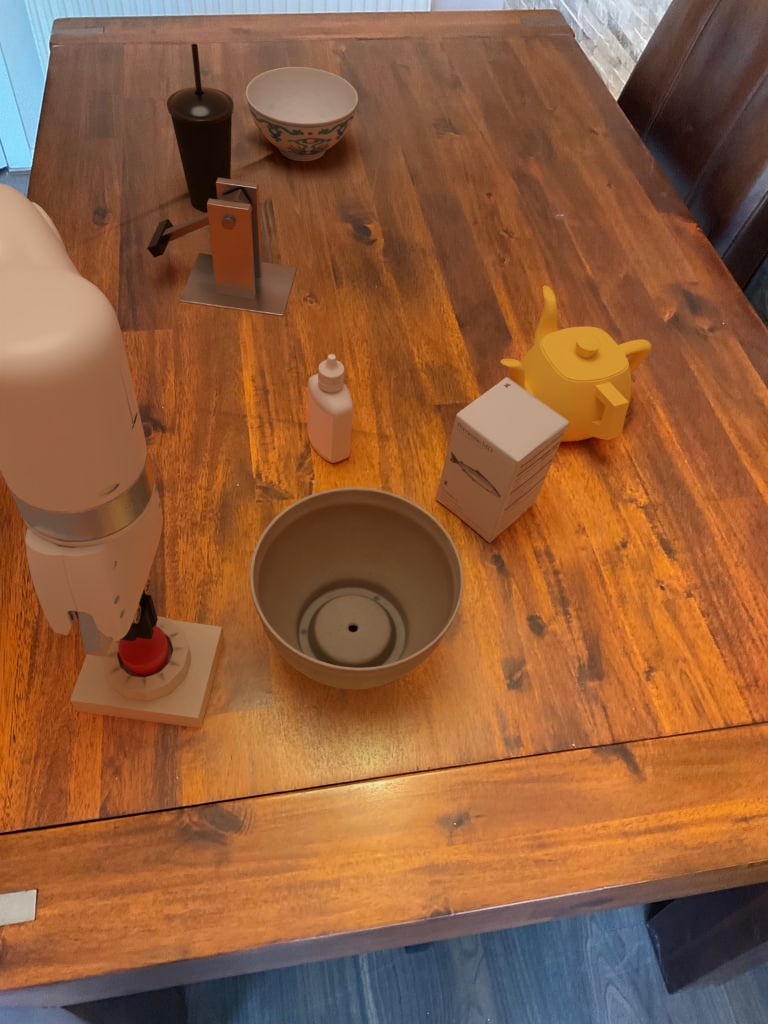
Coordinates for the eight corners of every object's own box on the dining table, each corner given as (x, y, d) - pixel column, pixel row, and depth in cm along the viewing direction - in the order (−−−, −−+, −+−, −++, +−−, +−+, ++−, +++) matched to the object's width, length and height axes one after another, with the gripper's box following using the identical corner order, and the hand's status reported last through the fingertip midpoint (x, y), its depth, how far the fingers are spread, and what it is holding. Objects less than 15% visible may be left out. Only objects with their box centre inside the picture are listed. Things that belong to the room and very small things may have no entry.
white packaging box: (432, 500, 79) (452, 411, 68) (482, 462, 82) (507, 372, 72) (488, 547, 76) (518, 462, 66) (537, 505, 79) (572, 419, 69)
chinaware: (344, 186, 109) (346, 131, 103) (236, 168, 110) (232, 112, 103) (363, 130, 118) (366, 76, 112) (263, 113, 118) (261, 59, 112)
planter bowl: (258, 559, 73) (252, 486, 64) (432, 557, 75) (450, 486, 66) (253, 730, 64) (246, 672, 55) (453, 723, 65) (477, 665, 57)
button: (116, 672, 62) (111, 662, 60) (130, 630, 64) (126, 620, 62) (162, 678, 62) (159, 668, 60) (174, 636, 64) (171, 626, 62)
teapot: (524, 350, 93) (545, 280, 85) (635, 392, 90) (668, 323, 82) (481, 428, 85) (500, 358, 77) (602, 475, 82) (634, 409, 74)
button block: (76, 711, 63) (64, 690, 60) (107, 622, 68) (98, 599, 65) (201, 728, 63) (195, 709, 60) (224, 638, 68) (220, 616, 65)
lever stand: (180, 308, 92) (164, 209, 82) (199, 260, 97) (187, 162, 87) (283, 323, 92) (281, 225, 82) (297, 274, 97) (296, 177, 87)
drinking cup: (171, 218, 102) (147, 53, 86) (194, 186, 106) (174, 24, 90) (228, 231, 101) (215, 67, 85) (249, 198, 106) (239, 37, 90)
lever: (157, 262, 89) (143, 244, 88) (169, 235, 92) (156, 218, 91) (246, 226, 85) (233, 207, 83) (255, 200, 87) (243, 181, 86)
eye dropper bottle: (306, 464, 80) (307, 378, 70) (307, 422, 83) (307, 334, 74) (350, 465, 80) (356, 379, 71) (349, 423, 84) (355, 336, 74)
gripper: (62, 373, 49) (115, 537, 64) (-40, 581, 40) (48, 715, 55) (183, 392, 49) (208, 551, 64) (107, 602, 41) (156, 730, 55)
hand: (134, 627), depth 60 cm, fingers closed
